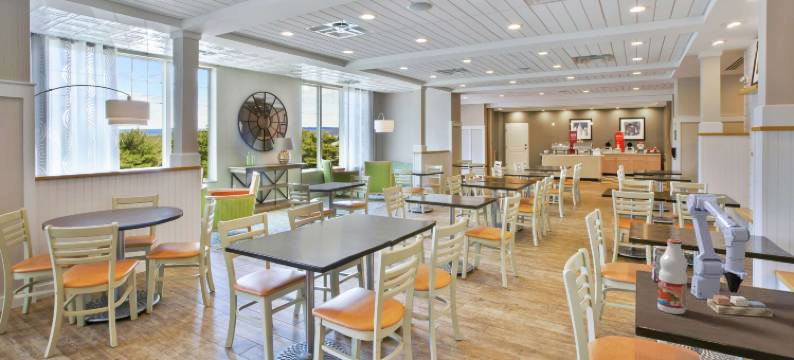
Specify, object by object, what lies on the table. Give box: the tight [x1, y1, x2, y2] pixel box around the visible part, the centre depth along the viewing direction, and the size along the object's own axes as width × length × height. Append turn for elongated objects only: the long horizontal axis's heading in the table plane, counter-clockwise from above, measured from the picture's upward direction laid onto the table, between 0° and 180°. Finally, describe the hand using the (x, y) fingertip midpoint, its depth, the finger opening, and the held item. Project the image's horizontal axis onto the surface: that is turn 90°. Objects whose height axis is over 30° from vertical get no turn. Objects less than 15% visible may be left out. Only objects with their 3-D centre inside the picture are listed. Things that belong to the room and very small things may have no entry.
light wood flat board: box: [706, 299, 774, 318], centre depth 170 cm, size 18×9×2 cm, turn 77°
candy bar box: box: [651, 245, 684, 283], centre depth 204 cm, size 11×5×16 cm, turn 71°
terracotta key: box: [713, 294, 731, 305], centre depth 171 cm, size 4×4×2 cm
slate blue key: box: [748, 300, 767, 308], centre depth 168 cm, size 4×4×2 cm
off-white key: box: [729, 295, 749, 306], centre depth 169 cm, size 4×4×2 cm
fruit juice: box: [657, 238, 688, 315], centre depth 170 cm, size 9×9×28 cm
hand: (733, 291), depth 170 cm, fingers closed
